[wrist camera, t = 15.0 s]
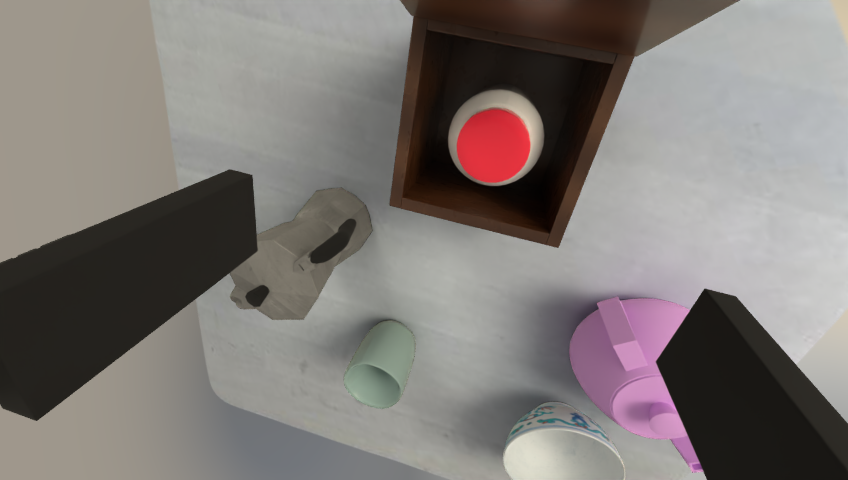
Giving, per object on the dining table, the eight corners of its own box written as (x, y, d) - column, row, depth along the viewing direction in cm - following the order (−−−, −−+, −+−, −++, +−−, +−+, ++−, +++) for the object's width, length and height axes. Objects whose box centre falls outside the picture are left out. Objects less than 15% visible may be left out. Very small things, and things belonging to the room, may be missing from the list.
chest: (547, 193, 40) (558, 248, 29) (424, 164, 42) (388, 205, 30) (597, 51, 33) (637, 49, 22) (448, 23, 35) (414, 9, 24)
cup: (363, 336, 56) (334, 388, 47) (383, 303, 52) (356, 352, 43) (407, 361, 56) (386, 417, 48) (430, 330, 52) (412, 385, 44)
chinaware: (516, 450, 60) (516, 501, 53) (494, 383, 54) (490, 430, 47) (617, 451, 55) (631, 507, 48) (604, 377, 49) (618, 428, 42)
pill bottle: (452, 149, 39) (431, 180, 30) (474, 72, 35) (457, 79, 26) (522, 170, 38) (524, 209, 29) (552, 94, 35) (564, 109, 25)
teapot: (533, 298, 46) (538, 370, 36) (666, 246, 40) (720, 315, 29) (609, 414, 52) (632, 506, 41) (736, 386, 45) (802, 486, 35)
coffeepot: (326, 267, 52) (242, 360, 36) (283, 212, 49) (173, 286, 33) (413, 220, 45) (357, 308, 30) (369, 154, 43) (282, 212, 27)
